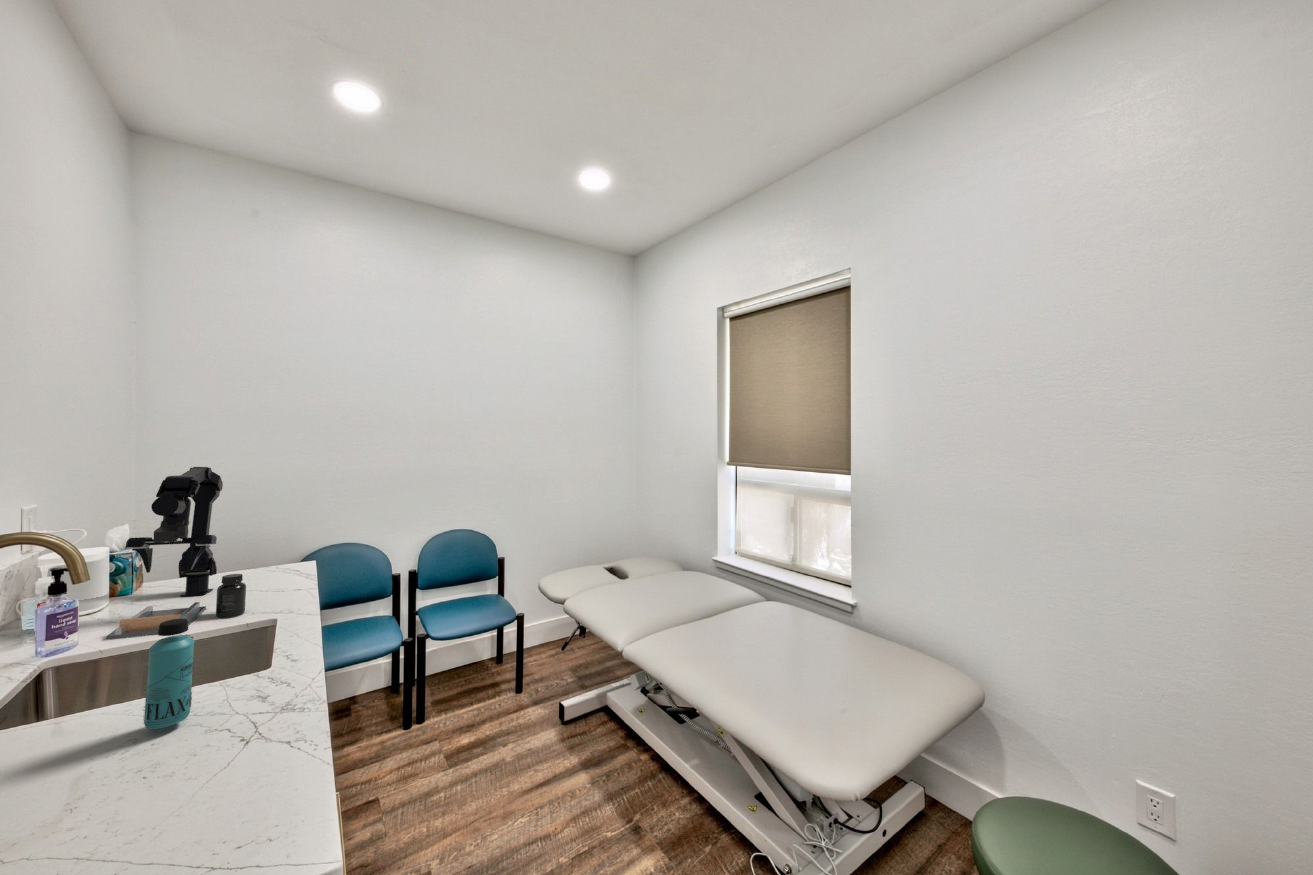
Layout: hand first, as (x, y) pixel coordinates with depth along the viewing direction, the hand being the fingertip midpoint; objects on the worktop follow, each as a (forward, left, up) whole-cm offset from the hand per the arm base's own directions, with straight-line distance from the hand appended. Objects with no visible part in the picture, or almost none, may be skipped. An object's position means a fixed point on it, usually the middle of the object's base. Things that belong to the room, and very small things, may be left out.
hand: (169, 571), depth 146 cm
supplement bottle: (0, +15, -14) cm, 21 cm away
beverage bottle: (+67, +32, -14) cm, 75 cm away
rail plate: (+4, 0, -14) cm, 15 cm away
